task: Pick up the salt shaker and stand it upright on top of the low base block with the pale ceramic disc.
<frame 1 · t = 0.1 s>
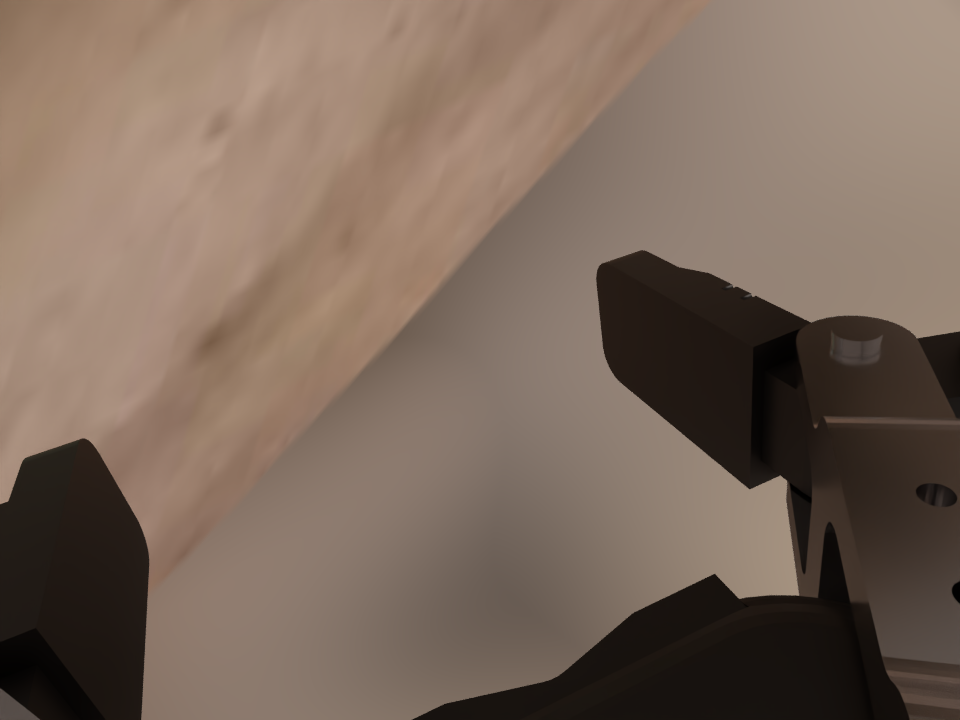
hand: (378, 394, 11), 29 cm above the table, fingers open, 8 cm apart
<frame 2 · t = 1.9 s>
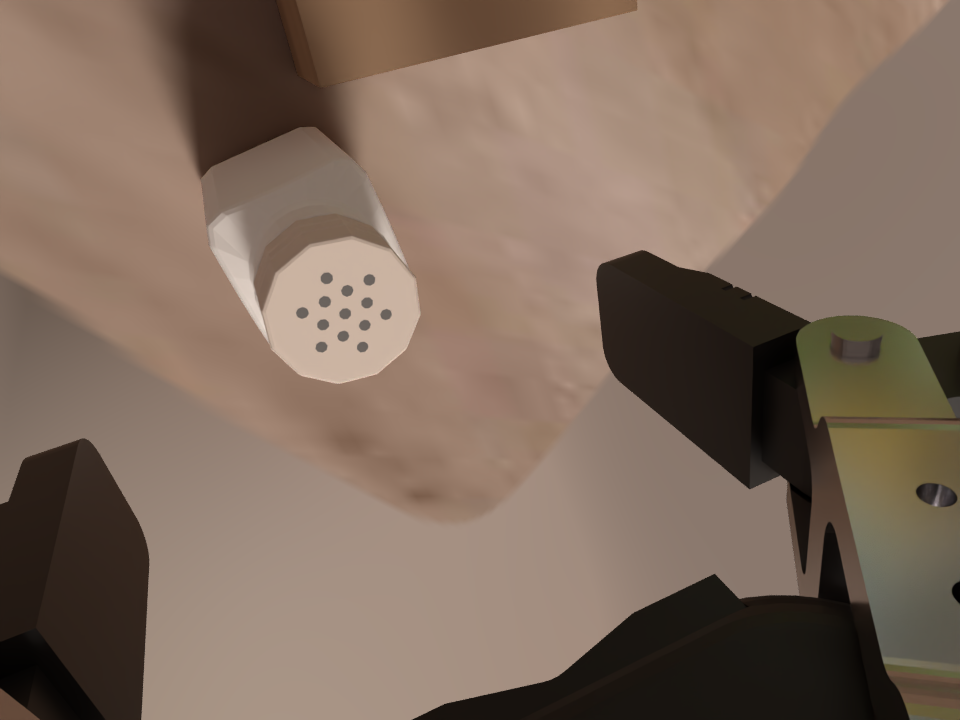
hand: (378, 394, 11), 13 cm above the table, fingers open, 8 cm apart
salt shaker: (284, 202, 22), on the table
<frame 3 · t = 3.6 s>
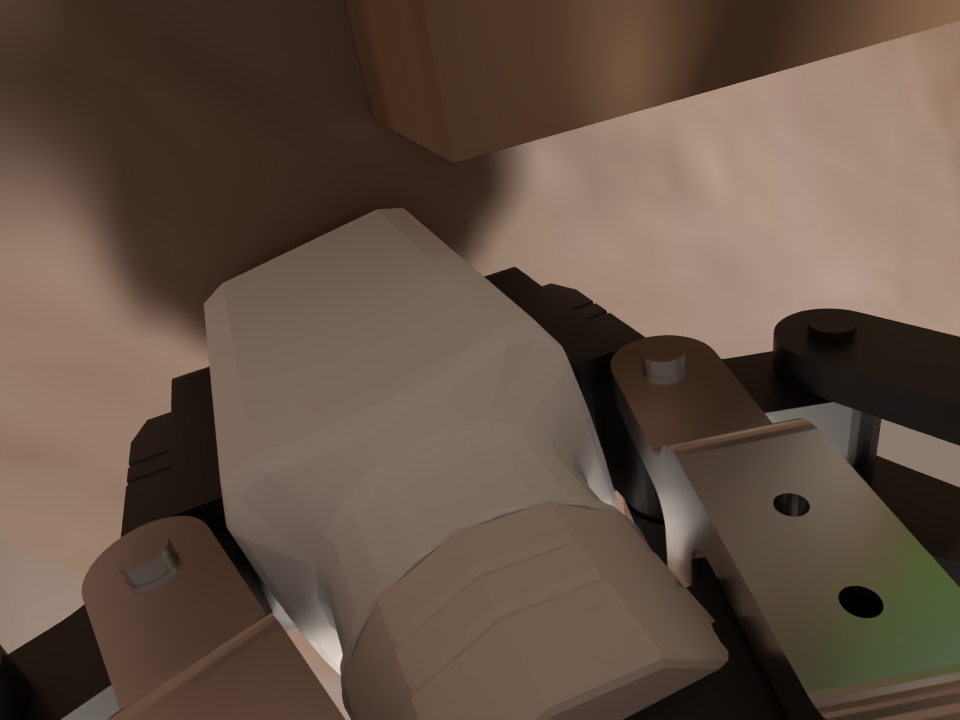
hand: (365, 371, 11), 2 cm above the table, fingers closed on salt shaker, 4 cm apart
salt shaker: (342, 325, 13), on the table, touching gripper
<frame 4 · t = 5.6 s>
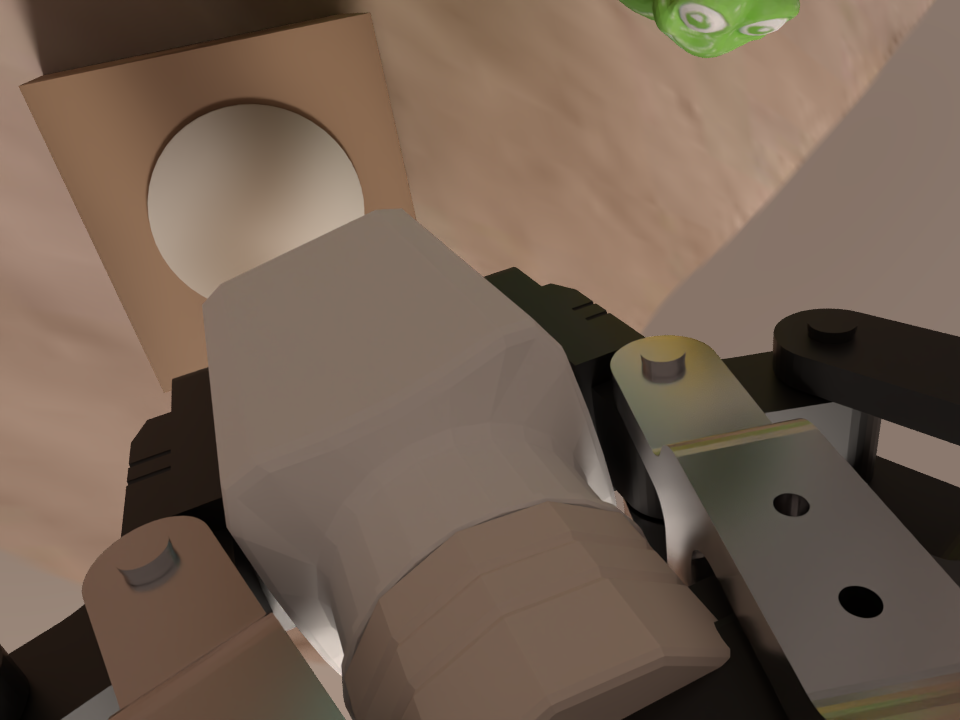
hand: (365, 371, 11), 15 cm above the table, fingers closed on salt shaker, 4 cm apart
base: (248, 185, 24), on the table
salt shaker: (341, 326, 13), point 13 cm above the table, touching gripper
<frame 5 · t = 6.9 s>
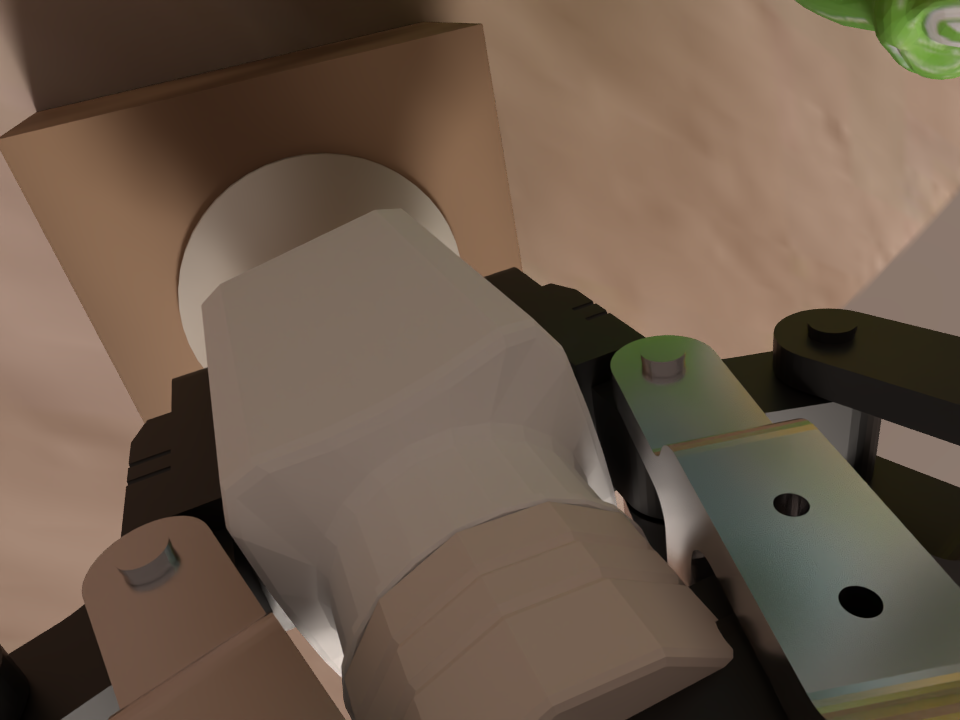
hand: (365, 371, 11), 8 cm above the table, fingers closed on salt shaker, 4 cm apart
base: (302, 244, 18), on the table
salt shaker: (340, 326, 13), point 6 cm above the table, touching gripper
when the fingers open (6 cm above the table, at t = 7.6 s): salt shaker stays where it is, resting on base.
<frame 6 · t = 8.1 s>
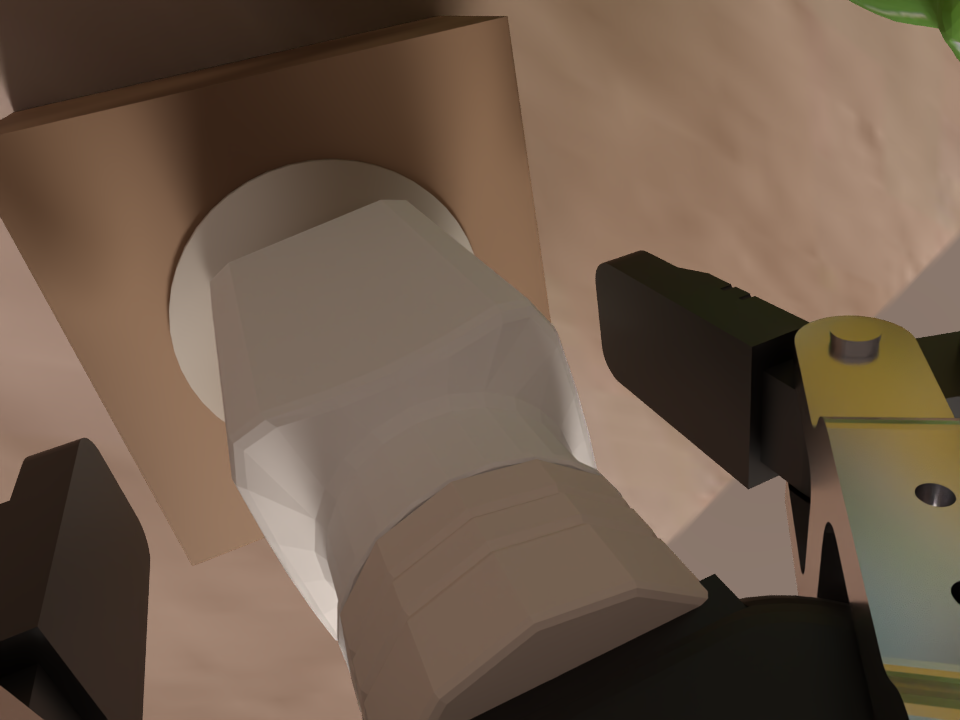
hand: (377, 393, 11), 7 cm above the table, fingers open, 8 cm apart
base: (304, 256, 17), on the table
salt shaker: (341, 311, 14), point 4 cm above the table, touching base
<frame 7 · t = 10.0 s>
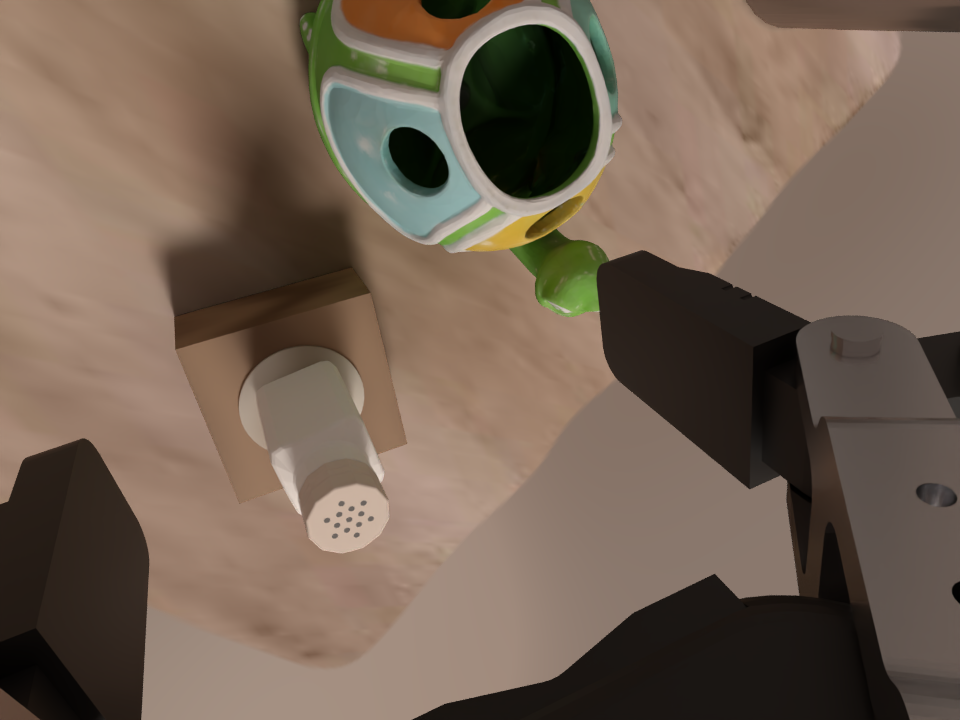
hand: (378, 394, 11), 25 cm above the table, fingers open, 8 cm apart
base: (290, 367, 37), on the table
salt shaker: (305, 400, 34), point 4 cm above the table, touching base
turtle holder: (444, 112, 35), on the table
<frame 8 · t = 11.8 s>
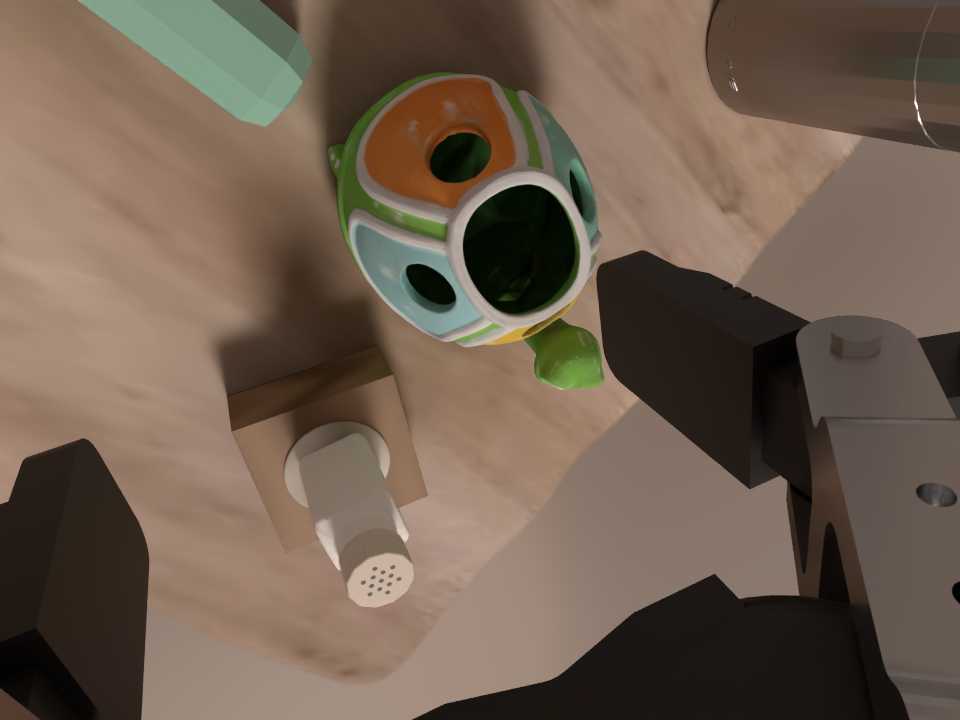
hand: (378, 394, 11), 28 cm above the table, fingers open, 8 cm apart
base: (325, 431, 43), on the table
salt shaker: (339, 465, 40), point 4 cm above the table, touching base
turtle holder: (452, 212, 40), on the table
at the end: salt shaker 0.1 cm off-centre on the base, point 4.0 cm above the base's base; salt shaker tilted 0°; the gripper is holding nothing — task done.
